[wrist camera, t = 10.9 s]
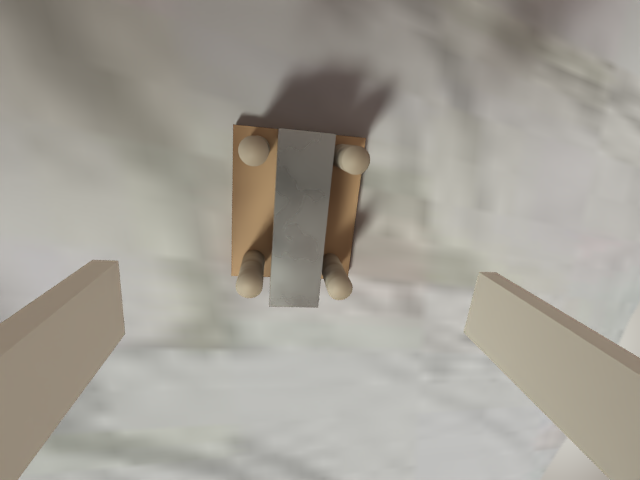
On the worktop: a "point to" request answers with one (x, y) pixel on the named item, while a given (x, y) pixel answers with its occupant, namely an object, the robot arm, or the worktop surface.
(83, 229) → the worktop surface
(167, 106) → the worktop surface
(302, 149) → the bar
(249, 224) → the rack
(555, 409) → the robot arm
